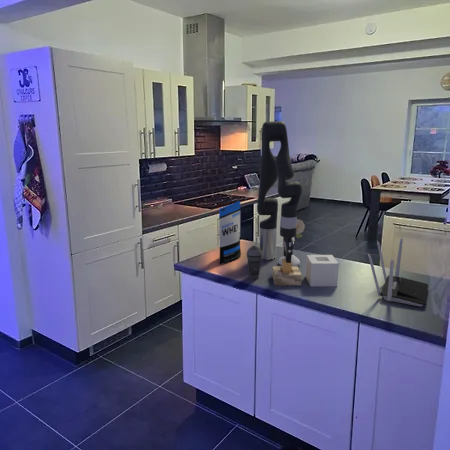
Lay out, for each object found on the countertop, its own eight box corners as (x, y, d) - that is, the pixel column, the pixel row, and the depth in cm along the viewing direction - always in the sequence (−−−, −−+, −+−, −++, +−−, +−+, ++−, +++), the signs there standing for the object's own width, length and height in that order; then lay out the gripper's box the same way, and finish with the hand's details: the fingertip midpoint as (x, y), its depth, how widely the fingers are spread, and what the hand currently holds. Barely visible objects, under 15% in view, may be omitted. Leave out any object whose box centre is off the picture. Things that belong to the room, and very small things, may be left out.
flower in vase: (276, 267, 202) (277, 220, 196) (280, 260, 212) (281, 215, 206) (301, 270, 198) (303, 222, 192) (304, 262, 208) (306, 216, 202)
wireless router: (423, 314, 151) (430, 265, 146) (361, 302, 162) (365, 256, 157) (428, 284, 179) (433, 242, 174) (375, 275, 190) (378, 235, 185)
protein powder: (212, 263, 209) (211, 207, 202) (232, 250, 230) (232, 200, 222) (227, 266, 205) (227, 209, 197) (247, 253, 225) (248, 201, 218)
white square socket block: (305, 276, 190) (306, 254, 187) (330, 276, 189) (332, 254, 187) (310, 286, 178) (311, 263, 175) (337, 286, 178) (338, 263, 175)
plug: (281, 274, 186) (282, 254, 184) (290, 274, 186) (290, 254, 184) (282, 278, 183) (283, 257, 180) (291, 278, 182) (292, 257, 180)
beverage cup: (250, 273, 194) (251, 234, 189) (264, 276, 190) (264, 236, 185) (243, 278, 188) (243, 238, 183) (257, 281, 184) (258, 240, 179)
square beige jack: (272, 275, 191) (272, 266, 190) (297, 275, 191) (297, 266, 189) (274, 285, 179) (275, 275, 178) (301, 285, 179) (301, 275, 178)
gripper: (278, 221, 185) (277, 254, 189) (282, 229, 172) (281, 264, 176) (294, 221, 185) (293, 254, 189) (299, 229, 171) (297, 264, 176)
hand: (287, 259), depth 183 cm, fingers open, 8 cm apart
